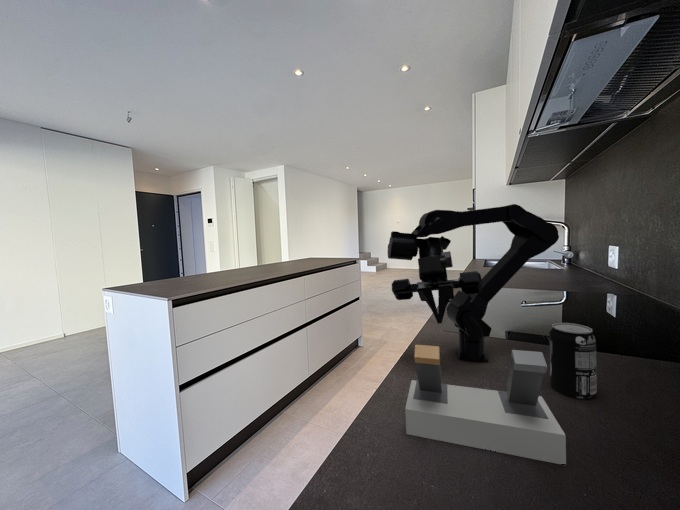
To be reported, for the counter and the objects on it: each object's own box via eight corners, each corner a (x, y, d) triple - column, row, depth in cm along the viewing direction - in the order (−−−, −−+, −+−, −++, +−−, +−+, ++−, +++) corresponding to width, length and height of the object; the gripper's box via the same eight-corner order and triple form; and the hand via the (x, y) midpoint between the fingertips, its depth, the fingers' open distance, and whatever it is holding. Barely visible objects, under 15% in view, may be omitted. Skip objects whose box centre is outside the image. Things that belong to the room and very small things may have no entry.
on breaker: (506, 390, 43) (511, 349, 38) (532, 393, 41) (542, 352, 36) (509, 404, 41) (515, 363, 36) (536, 407, 40) (547, 366, 35)
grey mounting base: (412, 401, 50) (411, 379, 50) (542, 421, 43) (541, 396, 43) (406, 434, 42) (405, 408, 42) (566, 465, 35) (565, 434, 34)
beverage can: (551, 378, 55) (549, 320, 55) (595, 387, 51) (594, 325, 51) (549, 392, 50) (548, 329, 50) (598, 404, 46) (597, 335, 46)
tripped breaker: (420, 379, 47) (415, 344, 42) (441, 382, 46) (439, 346, 41) (419, 391, 46) (414, 356, 40) (441, 394, 44) (439, 359, 39)
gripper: (385, 247, 63) (386, 311, 54) (474, 233, 56) (491, 303, 47) (396, 271, 71) (398, 329, 62) (474, 261, 64) (488, 325, 56)
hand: (439, 322), depth 57 cm, fingers closed
